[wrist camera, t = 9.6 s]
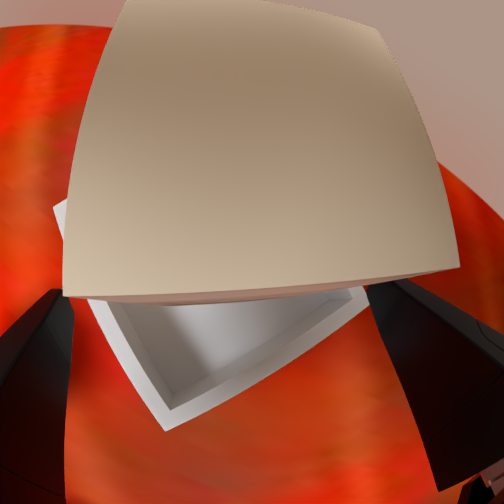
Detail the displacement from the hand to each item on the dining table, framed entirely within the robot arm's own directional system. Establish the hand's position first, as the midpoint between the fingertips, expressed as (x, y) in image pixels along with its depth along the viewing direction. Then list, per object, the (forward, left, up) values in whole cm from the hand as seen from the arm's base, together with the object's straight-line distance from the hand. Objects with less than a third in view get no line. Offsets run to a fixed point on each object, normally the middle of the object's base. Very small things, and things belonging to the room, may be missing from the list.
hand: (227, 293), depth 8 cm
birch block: (+1, +2, -7) cm, 8 cm away
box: (+1, +2, -8) cm, 8 cm away
